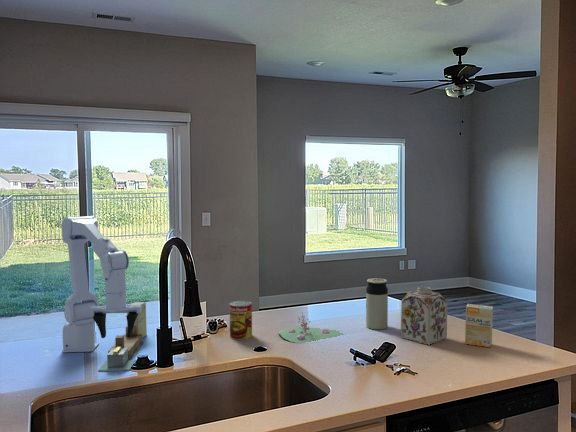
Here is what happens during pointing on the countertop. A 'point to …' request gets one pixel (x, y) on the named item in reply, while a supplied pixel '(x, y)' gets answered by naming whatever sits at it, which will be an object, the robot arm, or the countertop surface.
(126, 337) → the hand plane
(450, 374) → the countertop surface
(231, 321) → the canned food
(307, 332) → the plant
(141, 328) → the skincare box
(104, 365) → the mat
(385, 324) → the travel mug
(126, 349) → the lever cap
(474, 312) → the supplement box
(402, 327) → the decorative jar
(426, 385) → the countertop surface
